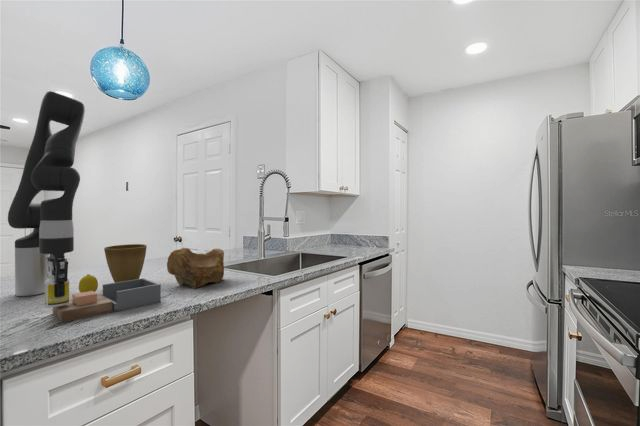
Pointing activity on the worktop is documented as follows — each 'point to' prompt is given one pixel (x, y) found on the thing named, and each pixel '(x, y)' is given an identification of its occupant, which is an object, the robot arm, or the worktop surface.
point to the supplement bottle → (49, 293)
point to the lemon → (88, 284)
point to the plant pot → (125, 261)
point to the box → (132, 293)
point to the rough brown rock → (196, 267)
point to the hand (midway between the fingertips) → (57, 294)
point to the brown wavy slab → (83, 309)
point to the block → (84, 298)
